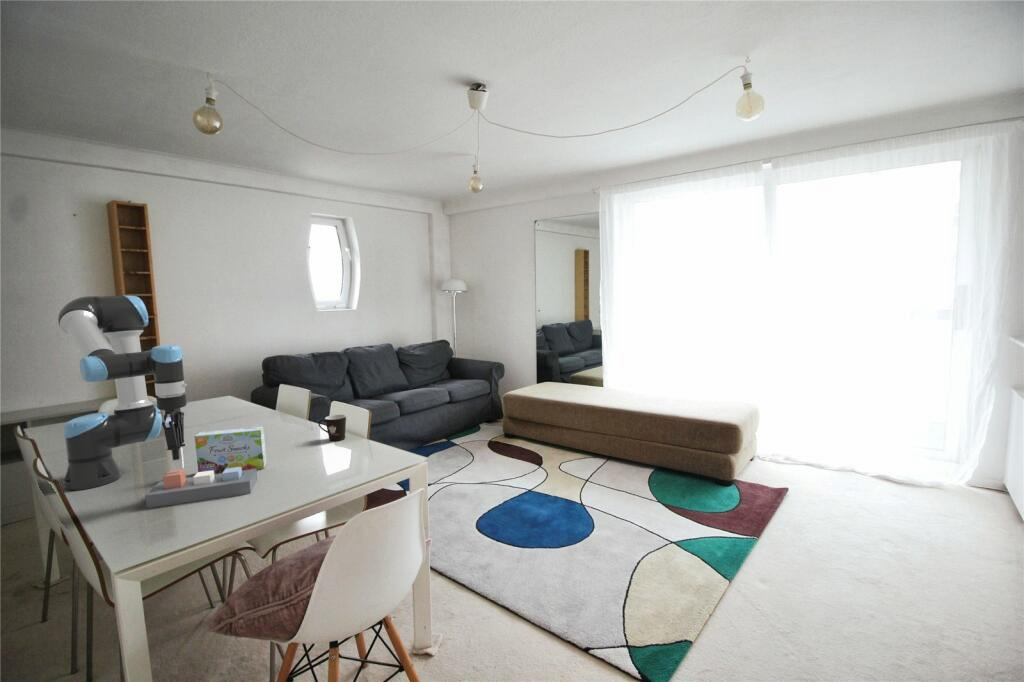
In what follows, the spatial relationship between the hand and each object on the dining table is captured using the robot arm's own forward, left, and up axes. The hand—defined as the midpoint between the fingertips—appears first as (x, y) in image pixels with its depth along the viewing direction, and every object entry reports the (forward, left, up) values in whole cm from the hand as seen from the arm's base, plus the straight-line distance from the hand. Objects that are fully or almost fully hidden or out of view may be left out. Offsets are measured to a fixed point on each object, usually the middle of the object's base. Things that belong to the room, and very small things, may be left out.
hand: (178, 468), depth 153 cm
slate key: (+15, 0, -7) cm, 16 cm away
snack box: (+11, +20, -10) cm, 24 cm away
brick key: (-1, 0, -6) cm, 6 cm away
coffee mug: (+45, +46, -9) cm, 65 cm away
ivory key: (+7, 0, -7) cm, 10 cm away
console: (+7, 0, -9) cm, 11 cm away
